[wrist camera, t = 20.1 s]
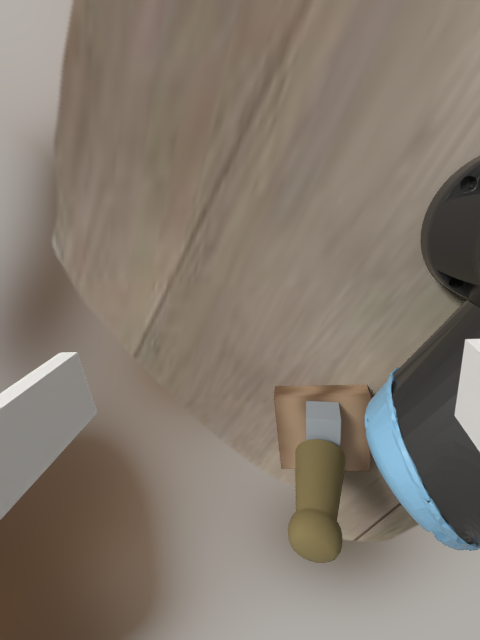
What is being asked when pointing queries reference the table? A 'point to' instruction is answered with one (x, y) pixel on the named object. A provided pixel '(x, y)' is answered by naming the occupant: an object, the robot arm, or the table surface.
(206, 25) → the table surface
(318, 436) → the slate-grey block
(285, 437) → the wooden flat board
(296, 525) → the olive ball-ended rod
